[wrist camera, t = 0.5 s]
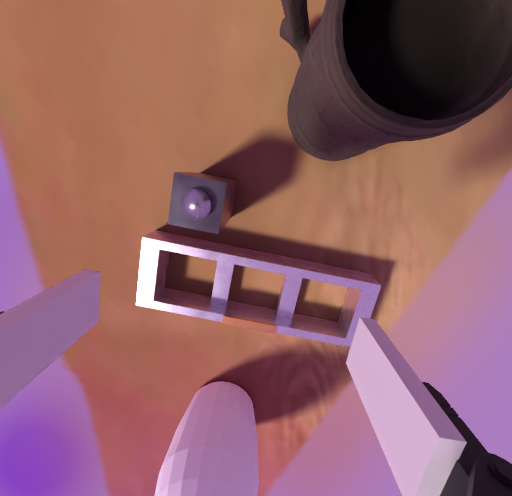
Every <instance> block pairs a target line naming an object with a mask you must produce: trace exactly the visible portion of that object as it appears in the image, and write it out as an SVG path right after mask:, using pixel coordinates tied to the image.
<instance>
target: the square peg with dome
mask: <svg viewBox="0 0 512 496" xmlns="http://www.w3.org/2000/svg"><path fill="white" fill-rule="evenodd" d="M237 182H238V180H234V179H229V178H224V177H219V176H214V175H209V174H205V173H190V172H174V178H173V187H172V195H171V203H170V212H169V220H168V224H169V225H174V226H179V227H184V228H189V229H194V230H199V231H204V232H209V233H214V234H219V233H220V231H221V230H222V229H223V228H224V226H225V225H226V224H227V222H228V221H229V220H230V218H231V216H232V210H233V205H234V199H235V194H236V188H237Z"/></svg>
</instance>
